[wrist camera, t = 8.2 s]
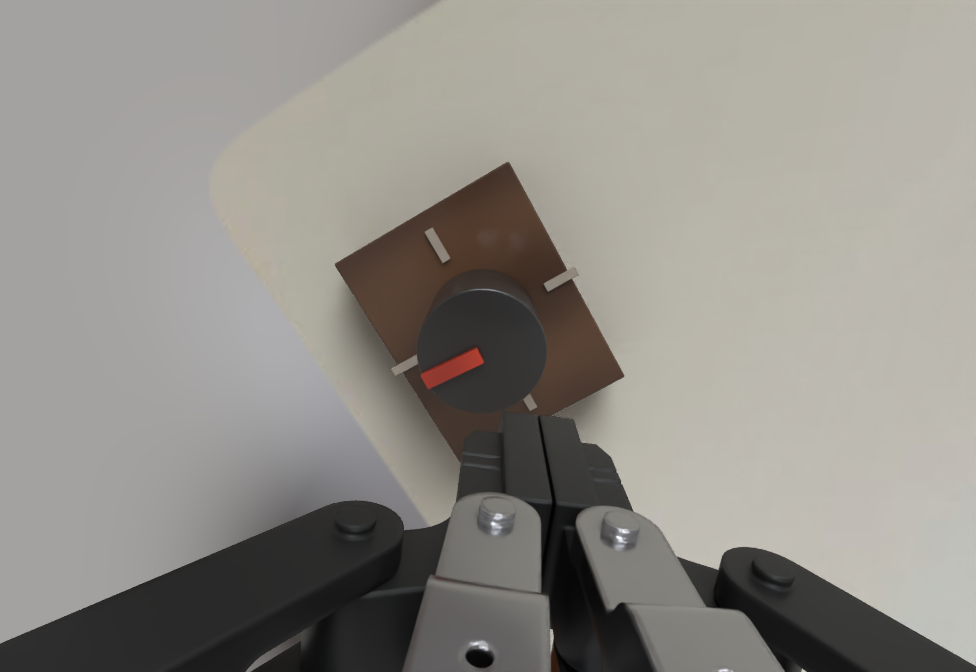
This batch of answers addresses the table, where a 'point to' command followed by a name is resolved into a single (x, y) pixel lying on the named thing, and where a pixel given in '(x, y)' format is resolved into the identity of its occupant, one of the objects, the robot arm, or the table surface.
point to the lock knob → (482, 343)
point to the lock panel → (470, 246)
